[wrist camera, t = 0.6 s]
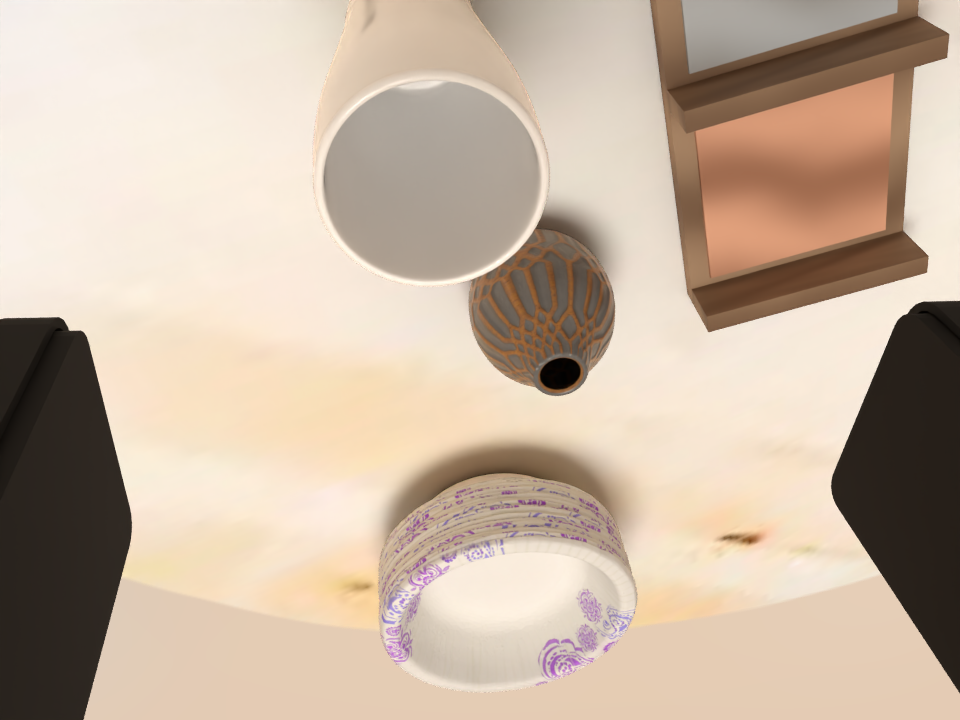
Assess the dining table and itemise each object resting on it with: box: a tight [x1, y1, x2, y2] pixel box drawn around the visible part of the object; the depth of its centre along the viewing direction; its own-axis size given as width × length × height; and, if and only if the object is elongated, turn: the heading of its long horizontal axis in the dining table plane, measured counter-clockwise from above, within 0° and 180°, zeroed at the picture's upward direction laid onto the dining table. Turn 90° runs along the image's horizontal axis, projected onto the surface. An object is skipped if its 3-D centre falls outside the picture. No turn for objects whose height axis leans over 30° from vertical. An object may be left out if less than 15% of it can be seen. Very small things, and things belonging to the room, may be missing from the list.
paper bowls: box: [378, 473, 637, 692], centre depth 52 cm, size 15×15×8 cm
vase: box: [469, 229, 615, 396], centre depth 40 cm, size 7×7×9 cm
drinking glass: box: [313, 0, 550, 287], centre depth 29 cm, size 7×7×15 cm
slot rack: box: [650, 0, 949, 332], centre depth 36 cm, size 23×11×4 cm, turn 15°
